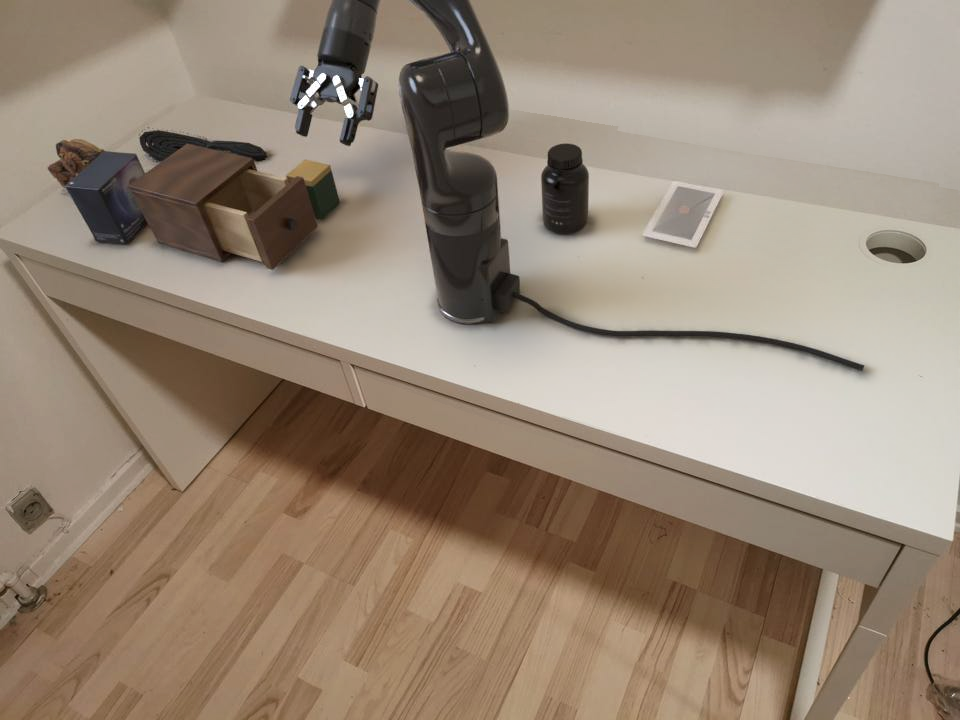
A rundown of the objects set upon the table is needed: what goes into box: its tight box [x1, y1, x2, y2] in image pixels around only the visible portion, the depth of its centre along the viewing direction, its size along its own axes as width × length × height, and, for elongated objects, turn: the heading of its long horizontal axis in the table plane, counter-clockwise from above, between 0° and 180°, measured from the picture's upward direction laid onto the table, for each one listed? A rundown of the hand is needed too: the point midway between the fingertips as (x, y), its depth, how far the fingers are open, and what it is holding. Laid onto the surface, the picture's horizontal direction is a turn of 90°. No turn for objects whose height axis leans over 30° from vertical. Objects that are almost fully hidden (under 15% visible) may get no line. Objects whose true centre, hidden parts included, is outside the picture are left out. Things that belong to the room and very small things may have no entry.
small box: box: [64, 150, 148, 245], centre depth 112 cm, size 11×6×10 cm, turn 166°
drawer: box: [202, 169, 319, 271], centre depth 105 cm, size 14×11×9 cm
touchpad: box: [641, 180, 725, 249], centre depth 103 cm, size 8×15×2 cm, turn 152°
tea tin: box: [285, 159, 341, 220], centre depth 112 cm, size 5×5×7 cm
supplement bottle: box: [540, 142, 590, 236], centre depth 102 cm, size 7×7×12 cm
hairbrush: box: [138, 127, 268, 162], centre depth 129 cm, size 8×4×25 cm
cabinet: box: [128, 144, 258, 263], centre depth 109 cm, size 14×13×11 cm
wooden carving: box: [47, 138, 105, 189], centre depth 119 cm, size 16×5×10 cm, turn 70°
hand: (322, 139), depth 110 cm, fingers open, 8 cm apart
